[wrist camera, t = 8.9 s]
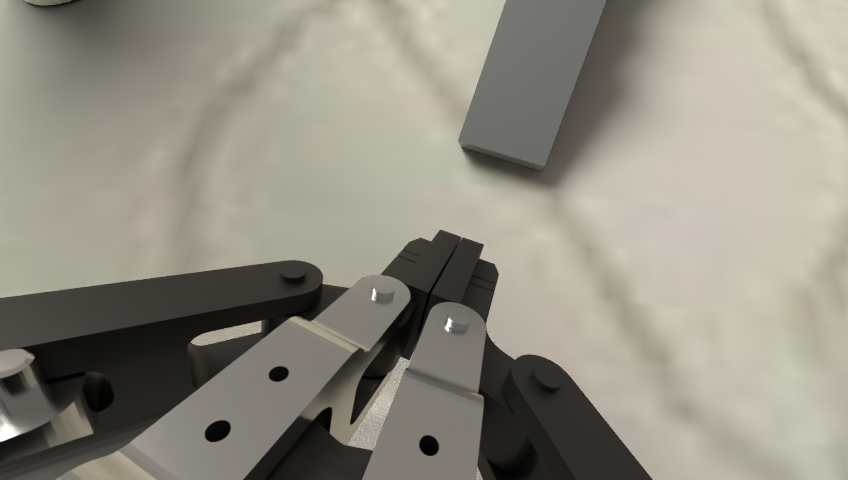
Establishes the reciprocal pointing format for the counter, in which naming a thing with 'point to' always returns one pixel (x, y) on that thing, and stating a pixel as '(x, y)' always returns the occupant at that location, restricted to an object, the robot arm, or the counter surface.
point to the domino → (529, 78)
